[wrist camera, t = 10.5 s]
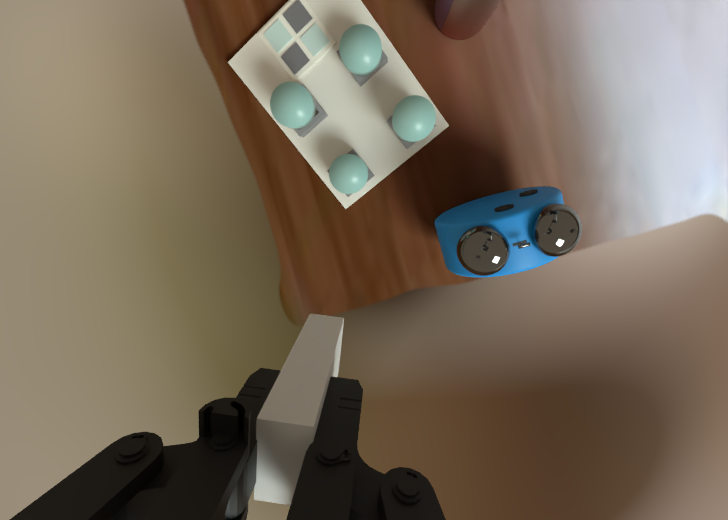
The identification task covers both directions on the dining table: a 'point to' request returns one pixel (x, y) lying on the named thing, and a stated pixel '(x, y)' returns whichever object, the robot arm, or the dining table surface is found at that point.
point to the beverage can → (463, 16)
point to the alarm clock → (507, 232)
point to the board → (334, 88)
